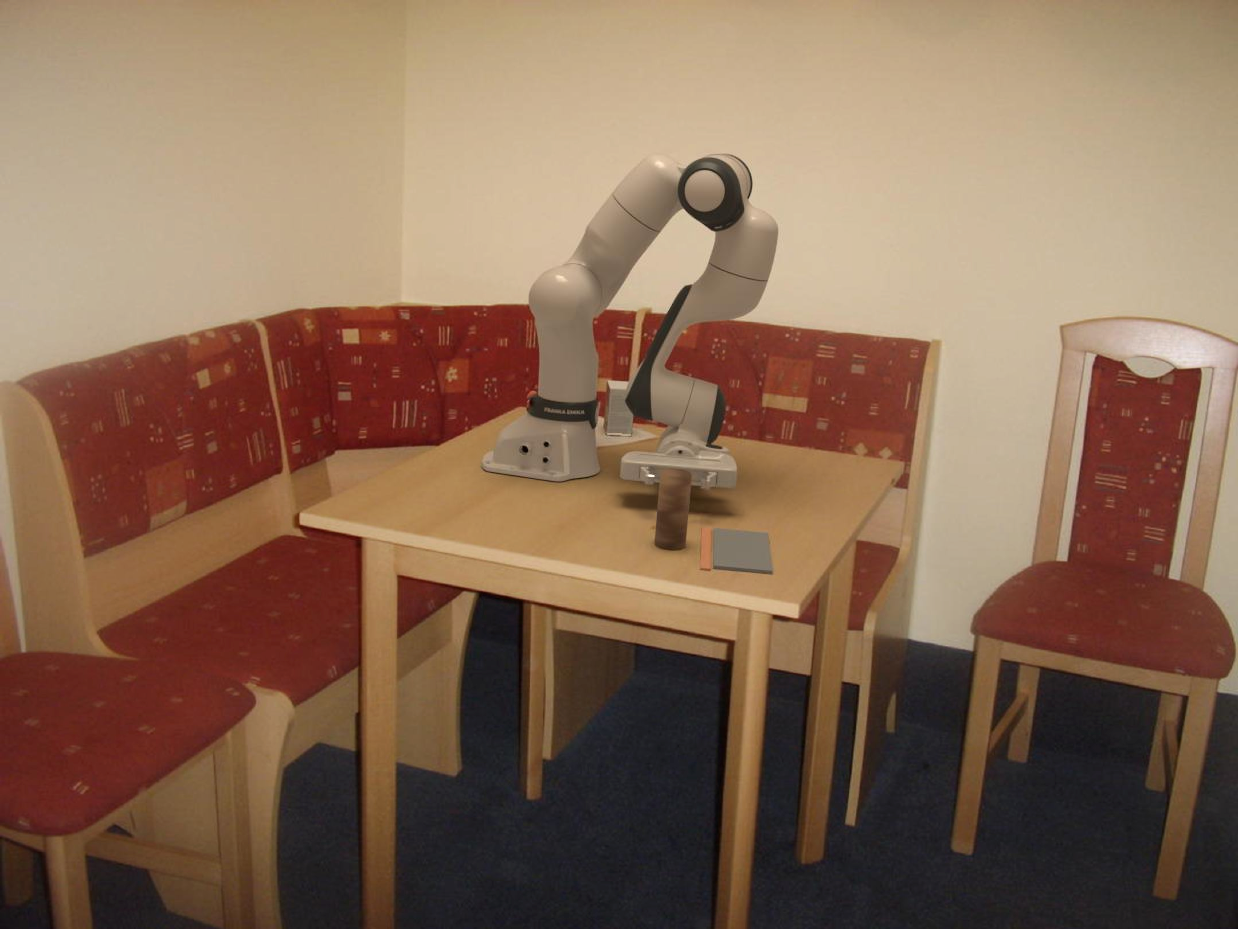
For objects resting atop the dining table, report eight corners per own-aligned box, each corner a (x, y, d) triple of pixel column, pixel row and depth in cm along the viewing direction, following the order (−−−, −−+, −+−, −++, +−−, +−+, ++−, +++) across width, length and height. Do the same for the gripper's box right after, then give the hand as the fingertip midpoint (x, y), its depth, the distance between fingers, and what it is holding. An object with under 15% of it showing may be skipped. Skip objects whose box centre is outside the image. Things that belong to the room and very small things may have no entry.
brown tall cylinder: (653, 548, 192) (659, 476, 188) (655, 538, 196) (661, 467, 193) (685, 551, 191) (691, 479, 188) (685, 541, 196) (692, 470, 193)
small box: (603, 426, 265) (606, 379, 263) (628, 428, 266) (632, 381, 263) (605, 436, 258) (609, 387, 255) (632, 437, 258) (635, 389, 255)
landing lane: (700, 569, 184) (700, 566, 184) (701, 527, 203) (702, 525, 203) (772, 576, 183) (773, 573, 183) (767, 533, 203) (767, 531, 202)
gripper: (623, 439, 217) (617, 459, 203) (737, 448, 215) (738, 469, 202) (621, 473, 218) (614, 495, 205) (734, 482, 217) (735, 505, 204)
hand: (677, 482), depth 204 cm, fingers open, 8 cm apart
